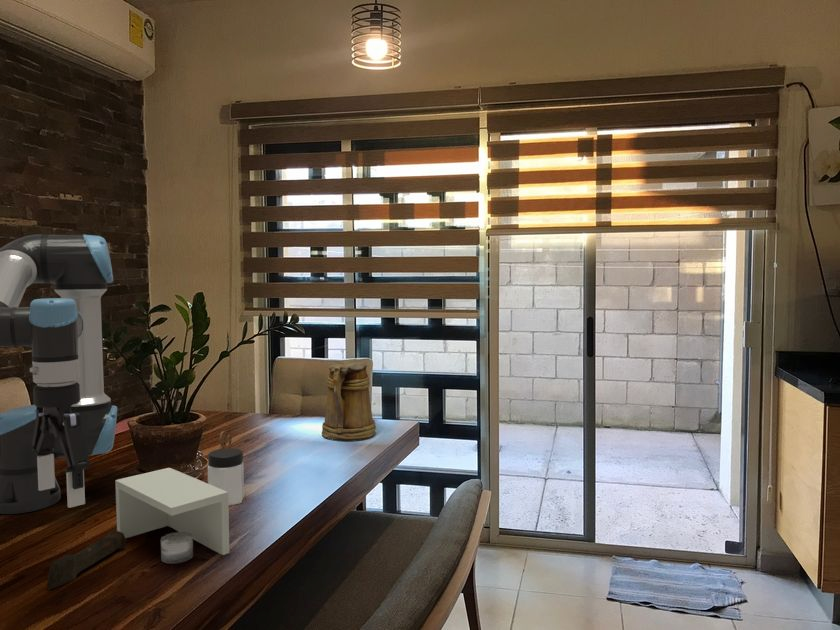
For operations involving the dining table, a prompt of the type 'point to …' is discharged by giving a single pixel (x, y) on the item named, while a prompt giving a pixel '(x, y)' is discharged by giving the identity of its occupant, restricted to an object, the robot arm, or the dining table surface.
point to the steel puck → (176, 547)
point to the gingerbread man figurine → (225, 441)
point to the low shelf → (173, 507)
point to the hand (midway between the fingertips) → (61, 497)
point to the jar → (227, 473)
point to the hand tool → (83, 559)
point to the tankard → (348, 402)
